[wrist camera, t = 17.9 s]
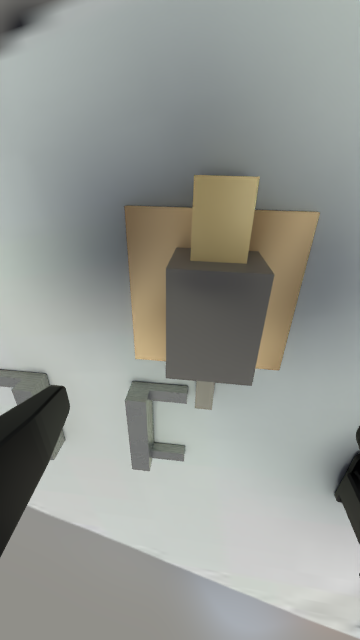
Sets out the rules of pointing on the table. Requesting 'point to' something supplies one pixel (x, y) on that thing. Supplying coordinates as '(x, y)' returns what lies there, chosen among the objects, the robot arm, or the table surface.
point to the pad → (175, 231)
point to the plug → (217, 290)
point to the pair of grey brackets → (136, 412)
